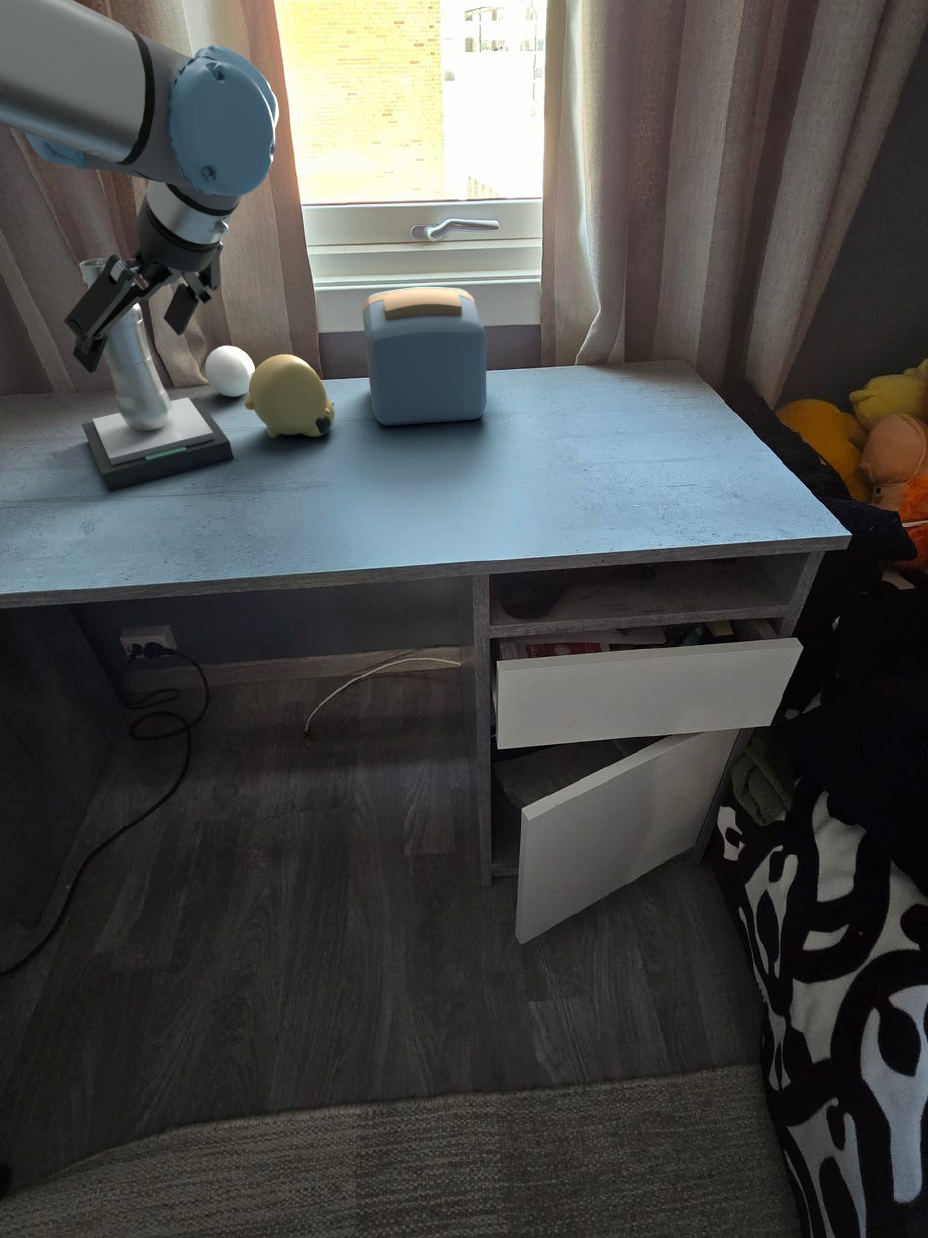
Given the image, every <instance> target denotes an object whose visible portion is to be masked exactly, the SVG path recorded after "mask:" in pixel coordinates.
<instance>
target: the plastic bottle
mask: <svg viewBox="0 0 928 1238" xmlns="http://www.w3.org/2000/svg"><path fill="white" fill-rule="evenodd" d="M108 259H109V258H106V257H105V258H101V257H100V258H91V259H87V260H83V261H82V262H80V263H79V264H78V265H79V268H80V272H81V274H82V280H83V282H84V283H85V284H87V289H86V292H87V291H88V289H89V288H90V287H91V286H92V284H93V283H94V282H95V280H96V279H97V278H98V277H99V275H100V274H101V273H102V272H103V270H104V267H105V265H106V263H107V261H108ZM105 334H106V335H107V336H108V340H107V342H106V345H105V348H104V350H103V353H102V356H103V358H104V359H105V364H106V366H107V368H108V371H109V372H110V377H111V381H112V384H113V388H114V392H115V396H116V397H115V398H116V404H117V409H118V413H120V414H121V416H122V418H123V420H124V421H125V423H126V424H127V425H129V426H130V427H131V428H133V429H135V430H140V431H147V430H154V429H158V428H161V427H164V426H166V425H167V424H168V423H170V421H171V419H172V416H173V410H172V403H171V401H172V400H171V399H170V396H169V394H168V392H167V391H166V389H165V387H164V385H163V383H162V381H161V378H160V376H159V372H158V371H157V369H156V367H155V364H154V362H153V357H152V354H151V353H150V352H151V350H150V347H149V343H148V340H147V334H146V328H145V322H144V318H143V312H142V308H141V306H140V304H139V302H138V303H137V304H136V305H135V306H134V307H133V308H132V309H130V310H129V311H128V312H127V313H126V314H125V315H124V316H123V317H122V318H121V319H120V320H119V321H118V322H117V323H116V324H115V325H114V326H113V327H112V328H111V329H110V330H109V331H107V332H106V333H105Z"/></svg>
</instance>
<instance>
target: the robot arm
mask: <svg viewBox="0 0 928 1238" xmlns="http://www.w3.org/2000/svg"><path fill="white" fill-rule="evenodd" d="M194 54H195V55H194V56H193V57H191V56H188V55H185V54H183V53H180V52H178V51H177V50H174V49H172V48H170V47H169V46H166V45H165V44H162V43H160V42H159V41H156V40H155V39H152V38H150V37H148V36H146V35H145V34H142V33H140V32H137V31H134V30H132V29H131V28H128V27H126V26H124V25H123V24H122V23H119V22H118V21H116V20H115V19H114V20H113V19H112V18H110V17H107V16H105V15H103V14H101V13H99V12H97V11H95V10H94V9H91V8H89V7H88V6H85V5H84V4H81V3H79V2H77V1H75V0H0V126H3V127H7V128H9V129H12V130H15V131H18V132H21V133H24V135H25V136H26V139H27V140H28V142H29V144H30V146H31V147H32V148H33V150H34V151H35V152H36V154H37V155H38V156H40V157H41V158H42V159H44V160H45V161H46V162H49V163H52V164H58V165H62V166H69V167H75V168H77V169H79V170H83V171H84V170H86V169H87V170H89V169H90V170H98V171H104V172H105V171H106V172H112V173H116V174H122V175H126V176H130V177H135V178H140V179H144V180H148V184H147V186H146V193H145V195H144V197H143V199H142V202H141V205H140V208H139V211H138V213H137V216H136V218H135V219H136V220H135V228H136V229H135V230H136V234H137V238H138V246H137V249H136V250H135V251H134V252H133V253H132V255H131V257H130V259H122V258H121V257H120V255H119V254H117V253H114V254H112V255H110V256H109V257H108V258H107V259H108V261H107V263H106V265H105V267H104V270H103V272H102V273H101V274H100V275H99V277H98V278H97V279H96V280H95V282H94V283H93V284H92V286H91V287H90V288H89V289H88V288H87V289H88V291H87V290H86V292H85V293H84V294H83V295H82V297H81V298H80V300H78V302H77V303H76V304H75V306H74V307H73V308H72V309H71V311H70V312H69V314H67V316H66V317H65V319H64V320H63V322H64V324H65V325H66V326H67V327H68V329H70V331H71V332H72V333H73V334H74V335H75V336H76V337H75V340H74V343H75V346H74V349H73V353H72V355H73V356H74V357H75V359H76V360H77V361H78V362H79V363H80V364H81V365H82V367H83V368H84V369H86V371H87V372H88V373H89V374H93V373H95V372H96V371H97V368H98V366H99V364H100V361H101V358H102V356H103V354H102V353H103V350H104V348H105V345H106V342H107V340H108V336H107V335H106V334H105V333H106V332H107V331H109V330H110V329H111V328H112V327H113V326H114V325H115V324H116V323H117V322H118V321H119V320H120V319H121V318H122V317H123V316H124V315H125V314H126V313H127V312H128V311H129V310H130V309H132V308H133V307H134V306H135V305H136V304H137V303H138V304H139V303H140V301H141V300H144V301H148V300H150V299H151V298H152V297H153V296H154V295H155V294H156V293H157V292H158V291H159V290H160V289H162V288H163V287H166V286H168V285H171V284H174V283H177V280H179V279H181V278H182V279H183V280H184V282H185V283H186V284H187V285H186V284H185V283H184V282H181V283H179V284H178V285H177V287H176V290H175V291H174V294H173V296H172V298H171V300H170V303H169V304H168V307H167V309H166V310H165V314H164V315H163V319H164V322H166V323H167V324H168V325H169V327H170V328H171V329H172V330H173V331H174V332H175V334H176V335H177V336H181V335H183V334H184V333H185V331H186V329H187V326H188V324H189V323H190V320H191V319H192V316H193V314H194V312H195V311H196V309H197V307H198V305H199V303H200V301H201V302H202V303H203V304H204V305H207V304H209V303H210V302H211V301H212V299H213V298H212V296H211V295H210V294H209V292H208V291H209V290H210V291H211V292H216V291H217V290H218V289H219V288H220V284H221V283H220V282H221V281H220V279H221V278H220V256H221V254H222V251H223V248H224V244H223V243H222V242H221V239H222V238H223V236H224V235H227V233H228V232H229V224H230V221H231V220H232V219H233V216H234V214H235V211H236V209H237V207H238V206H239V204H240V202H241V200H242V197H243V196H245V195H248V194H249V193H251V192H253V191H254V190H256V189H258V187H260V186H261V184H262V183H263V182H264V181H265V179H266V177H267V176H268V174H269V172H270V169H271V167H272V164H273V160H274V154H275V151H276V150H275V144H276V132H275V130H276V126H277V123H278V120H279V104H278V101H277V97H276V96H275V93H274V92H273V91H272V88H271V86H270V83H269V82H268V80H267V79H266V77H264V75H263V74H262V72H261V71H260V70H259V69H258V68H256V66H255V65H254V64H253V63H252V62H250V61H249V60H248V59H246V58H245V57H243V55H241V54H239V53H237V52H236V51H234V50H232V49H230V48H227V47H224V46H221V45H214V44H211V45H210V46H207V47H202V48H199V49H198V50H197V51H196V53H194ZM136 274H137V275H138V277H139V278H140V279H141V280H142V281H143V283H144V284H145V285H146V287H145V288H144V287H143V286H142V285H141V283H139V281H138V280H137V279H136Z"/></svg>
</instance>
